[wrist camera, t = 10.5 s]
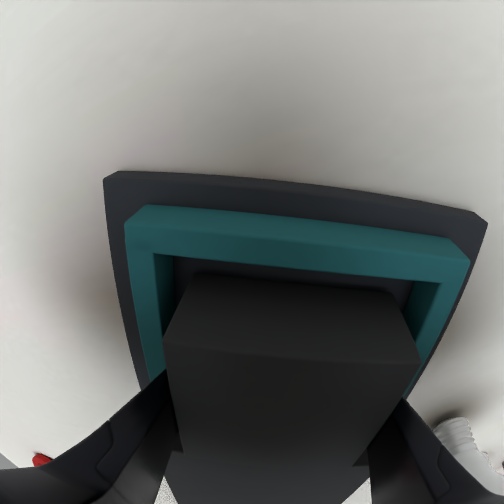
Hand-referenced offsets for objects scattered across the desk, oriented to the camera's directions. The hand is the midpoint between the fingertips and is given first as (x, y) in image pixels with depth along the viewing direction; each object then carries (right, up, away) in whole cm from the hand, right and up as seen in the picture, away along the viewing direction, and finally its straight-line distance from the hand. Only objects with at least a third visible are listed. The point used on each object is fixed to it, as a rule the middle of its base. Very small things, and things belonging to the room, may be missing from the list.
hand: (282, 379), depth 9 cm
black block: (0, 0, +1) cm, 1 cm away
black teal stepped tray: (0, -2, +4) cm, 4 cm away
